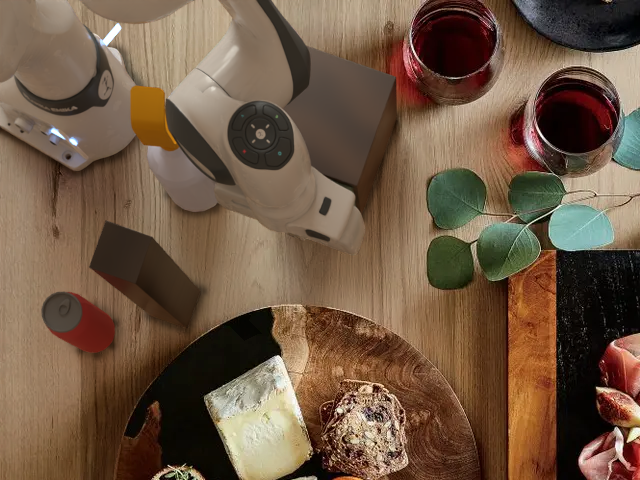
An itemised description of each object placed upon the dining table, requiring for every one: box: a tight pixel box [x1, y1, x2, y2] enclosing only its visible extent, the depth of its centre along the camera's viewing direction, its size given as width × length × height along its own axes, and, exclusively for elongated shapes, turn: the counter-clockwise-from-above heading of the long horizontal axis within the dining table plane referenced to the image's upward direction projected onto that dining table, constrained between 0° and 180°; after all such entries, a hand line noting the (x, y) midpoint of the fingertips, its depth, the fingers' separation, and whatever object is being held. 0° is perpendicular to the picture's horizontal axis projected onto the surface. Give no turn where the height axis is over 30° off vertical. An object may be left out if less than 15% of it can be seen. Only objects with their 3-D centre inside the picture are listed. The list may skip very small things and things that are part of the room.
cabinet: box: [283, 45, 398, 216], centre depth 116 cm, size 16×14×12 cm
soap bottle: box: [130, 85, 219, 213], centre depth 110 cm, size 9×9×25 cm
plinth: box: [88, 220, 202, 330], centre depth 110 cm, size 6×6×24 cm
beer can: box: [40, 291, 116, 354], centre depth 116 cm, size 7×7×12 cm
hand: (296, 232), depth 116 cm, fingers closed, pressing on drawer
